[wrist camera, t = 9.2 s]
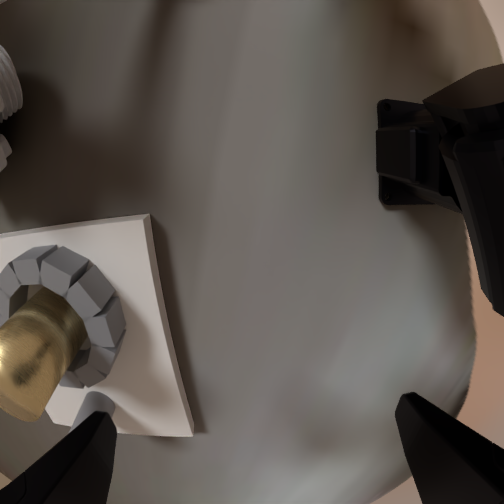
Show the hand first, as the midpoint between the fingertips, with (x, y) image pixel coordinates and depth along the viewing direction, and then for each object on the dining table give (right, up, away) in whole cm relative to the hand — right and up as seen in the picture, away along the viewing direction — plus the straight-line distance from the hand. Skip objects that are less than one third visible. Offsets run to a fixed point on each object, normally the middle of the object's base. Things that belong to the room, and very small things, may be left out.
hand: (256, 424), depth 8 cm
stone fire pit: (-13, -2, +12) cm, 18 cm away
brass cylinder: (-13, +1, +10) cm, 16 cm away
